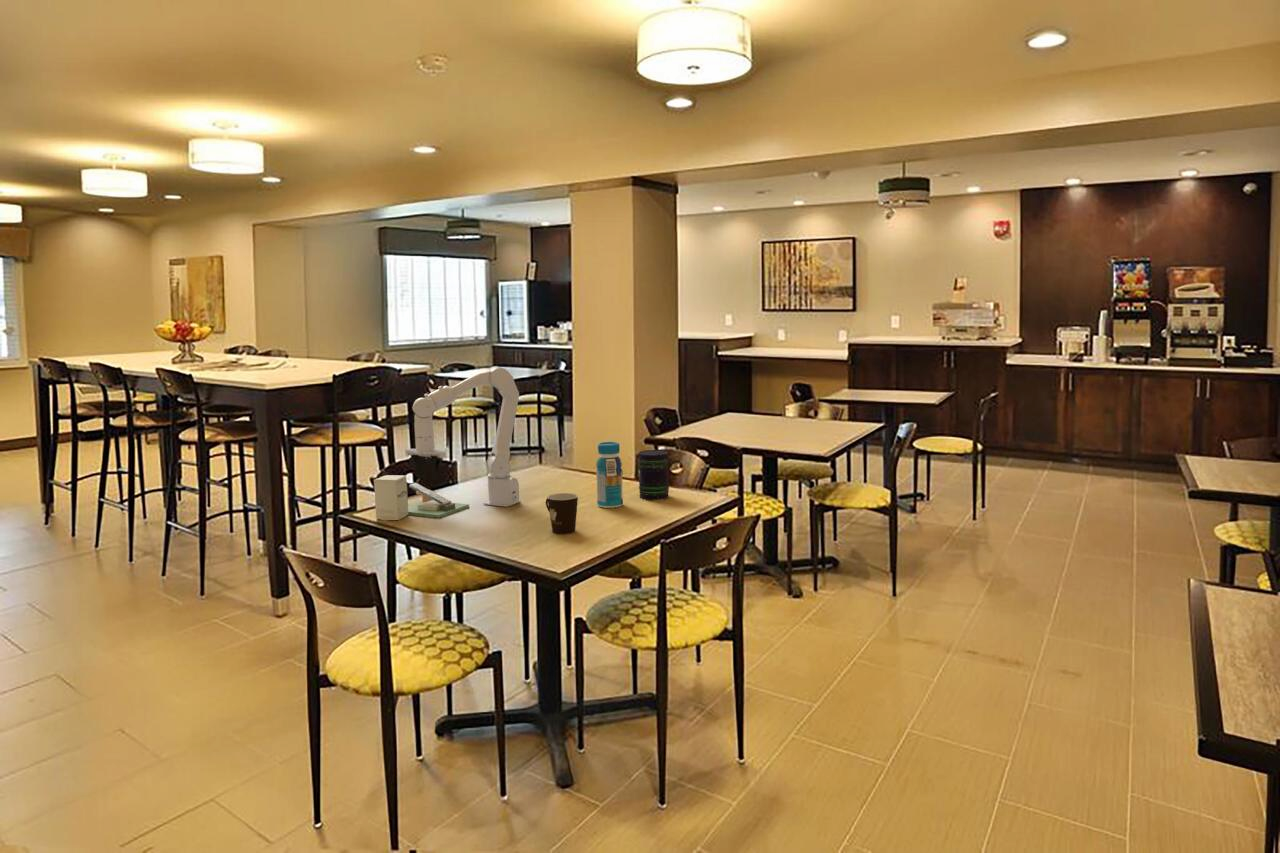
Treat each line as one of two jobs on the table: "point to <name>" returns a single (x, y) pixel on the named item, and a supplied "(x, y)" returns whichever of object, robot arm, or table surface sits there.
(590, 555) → the table surface
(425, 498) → the lug
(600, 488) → the beverage bottle
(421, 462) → the robot arm
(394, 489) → the supplement box
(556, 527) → the coffee mug
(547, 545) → the table surface
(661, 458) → the storage jar
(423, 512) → the board
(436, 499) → the grey flat bar
